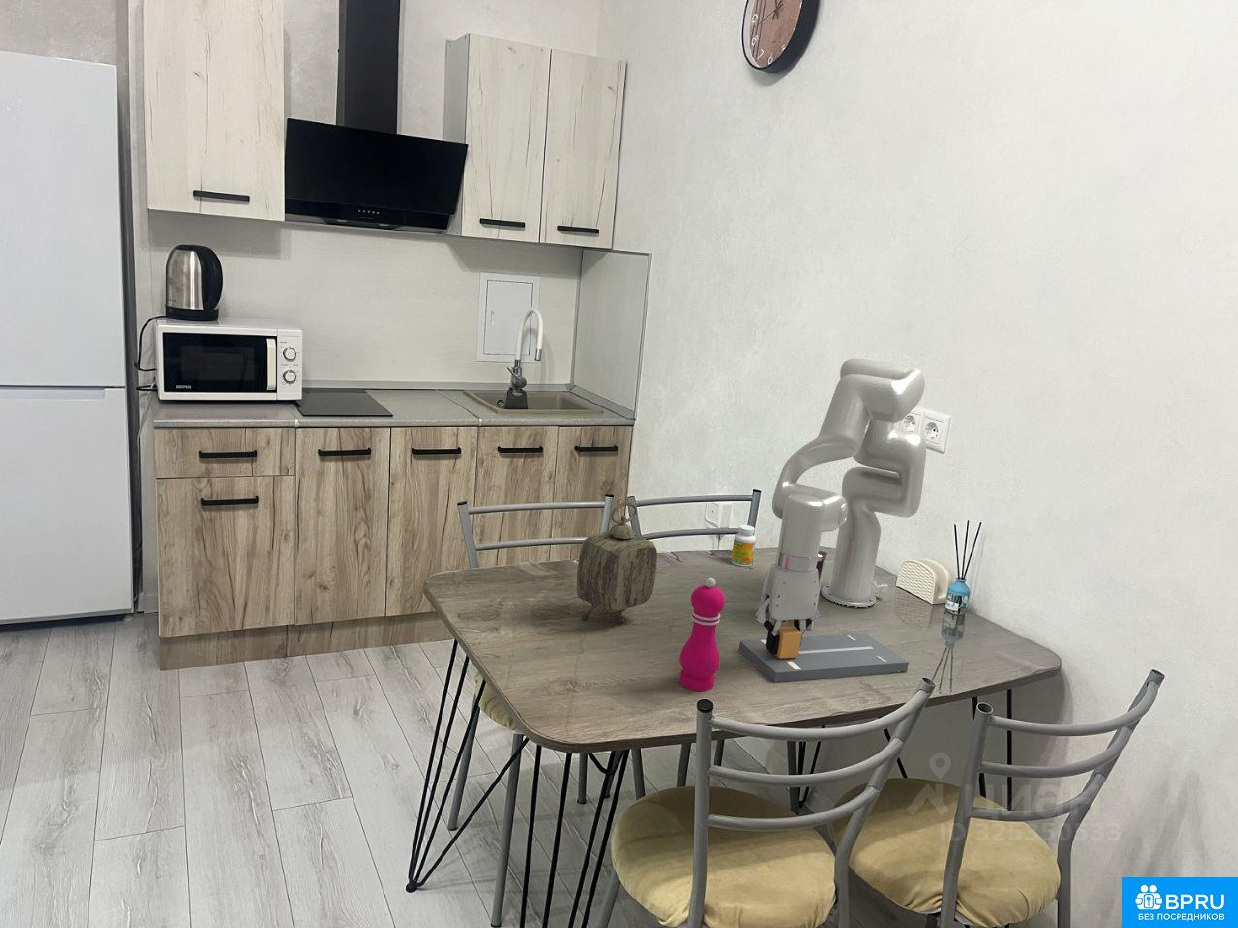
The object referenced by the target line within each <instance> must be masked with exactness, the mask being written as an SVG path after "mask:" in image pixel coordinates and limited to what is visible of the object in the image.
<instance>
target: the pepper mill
mask: <svg viewBox="0 0 1238 928" xmlns="http://www.w3.org/2000/svg"><path fill="white" fill-rule="evenodd" d="M704 583H705V584H703V585H699V586H697V587H695V588H694V589H693V591H692V593H691V596H690V604H691V606H692V608H693V609H692V610H691V616H690V618H691V620H692V623H693V624H692V629H691V633H690V635H689V637H688V639H687V641H686V642H685V643H684V645H683V647H682V648H681V651H680V654H679V658H678V660H679V661H678V662H679V664H680V667H681V669H680V671H679V672H680V674H679V678H678V681H679V683H680V685H681V686H683V688H686V689H689V690H692V691H698V692H706V691H709V690H711V689H713V688H714V686H715V681H716V680H715V679H716V676H715V673H716V672H717V671H718V670H719V669H720V665H721V664H720V663H721V662H720V661H721V657H720V653H719V650H718V649H719V648H718V646H717V643H716V636H715V635H716V628H717V625H718V624H719V623H720V621H721V620H720V618H721V614H720V613H721V612H722V611H723V609H724V608H725V605H726V598H725V594H724V592H723V591H722V589H720V588H719V587H717V586H716V580H715V578H713V577H708V578H707V579H705V582H704Z"/></svg>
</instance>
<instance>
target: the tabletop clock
mask: <svg viewBox="0 0 1238 928" xmlns="http://www.w3.org/2000/svg"><path fill="white" fill-rule="evenodd" d="M629 506H630V507H632V508H633V511H634V512H633V514H632V515H631V516H630V517H628V518H627V517H626V516H625V515H621V516H620V519H616V518H614V517H615V516H614V515H615V512H616V511H618V510H619V509H620V508H622V507H629ZM636 515H637V507H636V505H635V504H634V503H633V502H628V501H626V502H621V503H619V504H617V505H616V506H615V507H613V510H612V512H611V514H610V517H611V520H612V522H614V523H616V524H614V525H612V526H611V527H610V529H609V530H606V531H603V532H598V533H594V534H592V535H590V536H588V537H587V538H585V539H584V541H583V544H582V545H581V548H580V552H579V557H578V564H577V569H576V570H577V571H576V574H577V575H576V594H577V598H579V599H580V600H582V601H584V602H586V603H588V604H590V605H591V606H590V608H589V609H588V610H587V612H583V613H582V614H581V615H580V616H581V617H580V618H581V619H582V620H583V621H588V620H589V619H590V614H591V613H592V612H593V611H594V610H595V609H596V608H598V609H600V610H603V611H605V612H615V611H617V613H618V616H617V617H616V620H615V621H616V623H617V624H620V625H621V624H623V623H624V622H625V618H624V616H622V611H625V610H626V609H630V608H635V607H637V606H639V605H643V604H645V603H647V602H648V601H650V599H651V596H652V594H653V590H654V587H655V586H654V585H655V580H656V574H657V573H656V572H657V562H658V561H657V559H658V556H657V555H658V553H657V548H656V546H655V544H654V542H653V541H650V540H648V539H646V538H644V537H641V536H639V535H637V534H635V533H634V530H633V528H632V526H630V525H629V524H627V523H629V522H631V521H632V520H633V519H634V518H635V517H636Z"/></svg>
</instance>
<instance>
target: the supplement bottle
mask: <svg viewBox="0 0 1238 928" xmlns="http://www.w3.org/2000/svg"><path fill="white" fill-rule="evenodd" d="M755 529H756V528H755V527H754V526H752V525H750V524H749V525H748V524H740V525H739V526H738V532H737V533H736V534H735V535H734V540H733V546H732V554H731V564H733V565H735V566H738V567H744V568H745V567H751V566H752V565H753V562H754V556H755V550H756V542H757V537H756V536H755V535H754V534H755Z"/></svg>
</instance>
